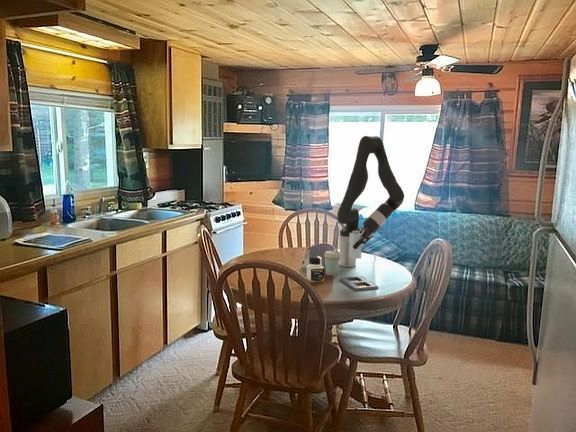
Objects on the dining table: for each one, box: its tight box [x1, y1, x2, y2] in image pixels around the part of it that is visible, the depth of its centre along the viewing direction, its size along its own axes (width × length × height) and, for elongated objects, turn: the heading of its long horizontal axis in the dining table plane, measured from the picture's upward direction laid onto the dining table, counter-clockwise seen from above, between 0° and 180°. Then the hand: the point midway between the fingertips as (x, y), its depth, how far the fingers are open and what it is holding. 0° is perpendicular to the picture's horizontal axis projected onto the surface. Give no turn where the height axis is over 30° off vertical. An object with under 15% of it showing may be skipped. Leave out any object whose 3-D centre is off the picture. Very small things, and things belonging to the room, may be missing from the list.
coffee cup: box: [323, 250, 340, 277], centre depth 251 cm, size 9×8×12 cm
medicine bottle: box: [306, 255, 325, 283], centre depth 241 cm, size 7×7×12 cm
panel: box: [339, 275, 379, 292], centre depth 234 cm, size 18×12×2 cm, turn 18°
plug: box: [349, 231, 363, 260], centre depth 235 cm, size 4×4×13 cm
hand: (351, 246), depth 235 cm, fingers closed on plug, 4 cm apart
